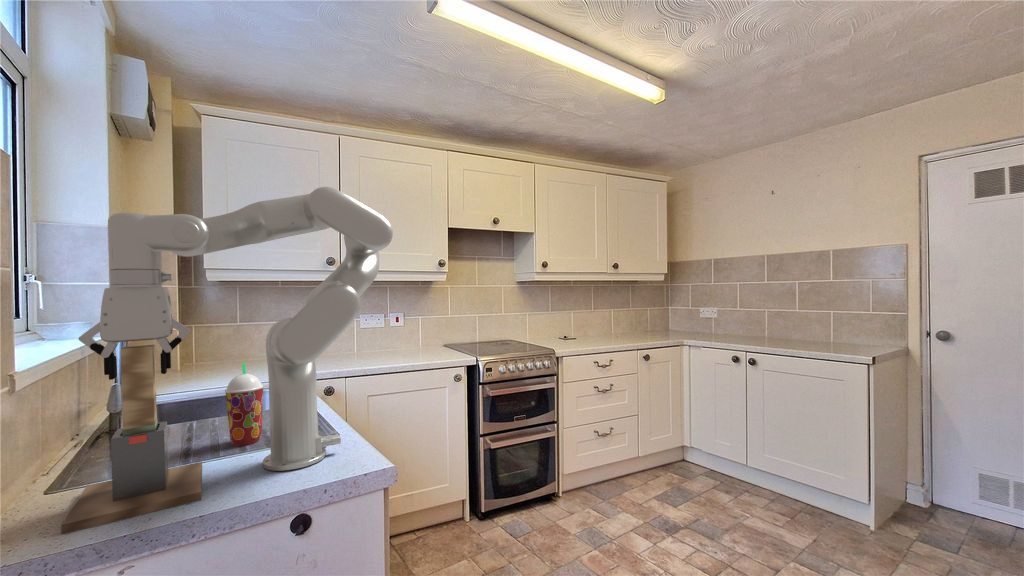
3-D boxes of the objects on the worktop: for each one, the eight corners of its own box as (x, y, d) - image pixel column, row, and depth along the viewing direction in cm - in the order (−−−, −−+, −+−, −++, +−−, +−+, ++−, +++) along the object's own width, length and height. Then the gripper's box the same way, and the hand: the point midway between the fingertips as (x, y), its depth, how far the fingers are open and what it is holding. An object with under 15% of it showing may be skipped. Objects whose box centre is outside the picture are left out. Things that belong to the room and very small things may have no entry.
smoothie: (257, 434, 117) (255, 359, 117) (270, 440, 111) (268, 361, 112) (221, 443, 110) (219, 364, 110) (233, 450, 105) (231, 367, 105)
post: (158, 437, 85) (155, 344, 85) (155, 443, 81) (152, 346, 81) (126, 442, 82) (123, 346, 82) (122, 449, 79) (119, 349, 79)
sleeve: (168, 476, 87) (167, 421, 87) (165, 490, 80) (163, 430, 80) (119, 487, 83) (117, 428, 83) (112, 502, 76) (110, 439, 76)
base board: (202, 468, 94) (201, 461, 94) (201, 500, 79) (200, 491, 79) (87, 493, 84) (87, 485, 84) (61, 534, 69) (61, 524, 69)
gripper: (194, 280, 90) (196, 367, 90) (76, 281, 80) (79, 379, 80) (193, 278, 84) (195, 372, 84) (66, 280, 74) (69, 386, 74)
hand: (139, 374), depth 82 cm, fingers open, 6 cm apart
